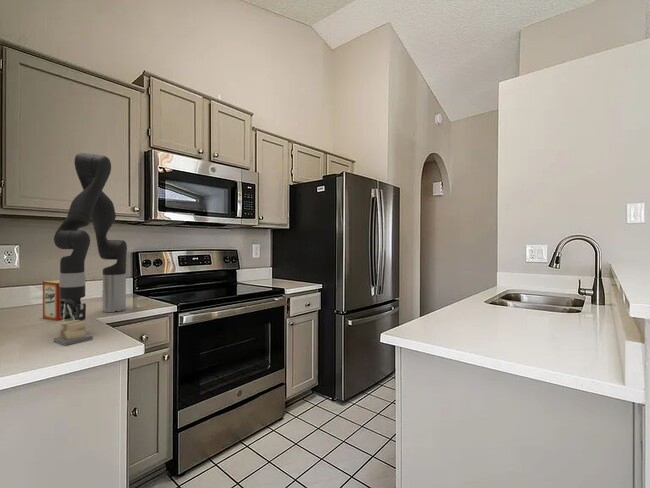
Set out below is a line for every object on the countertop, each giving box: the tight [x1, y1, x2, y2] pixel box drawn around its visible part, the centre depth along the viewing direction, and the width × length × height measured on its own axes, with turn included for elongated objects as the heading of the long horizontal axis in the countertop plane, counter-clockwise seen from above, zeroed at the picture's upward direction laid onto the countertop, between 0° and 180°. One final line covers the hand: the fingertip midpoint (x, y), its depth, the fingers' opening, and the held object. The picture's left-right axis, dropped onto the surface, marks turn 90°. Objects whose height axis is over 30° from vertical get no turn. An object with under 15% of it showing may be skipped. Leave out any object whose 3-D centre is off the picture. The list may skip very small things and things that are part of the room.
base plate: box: [53, 333, 94, 347], centre depth 111 cm, size 8×8×1 cm
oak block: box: [60, 320, 86, 340], centre depth 111 cm, size 5×5×5 cm
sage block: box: [60, 318, 85, 324], centre depth 120 cm, size 5×5×5 cm
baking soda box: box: [42, 279, 73, 322], centre depth 140 cm, size 10×6×16 cm
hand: (72, 330), depth 120 cm, fingers open, 6 cm apart
